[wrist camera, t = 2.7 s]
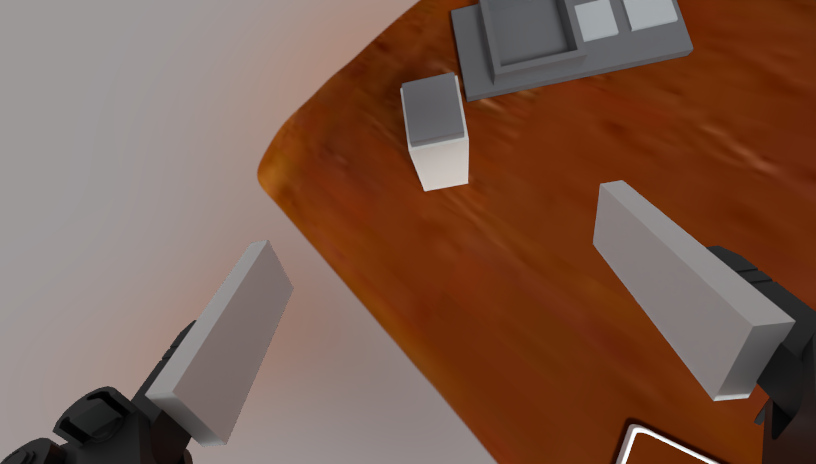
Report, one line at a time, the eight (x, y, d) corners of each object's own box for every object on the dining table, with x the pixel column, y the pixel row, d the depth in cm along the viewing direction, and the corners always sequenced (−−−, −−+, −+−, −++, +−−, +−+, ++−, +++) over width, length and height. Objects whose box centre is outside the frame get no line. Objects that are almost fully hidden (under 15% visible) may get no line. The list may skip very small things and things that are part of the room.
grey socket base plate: (656, -34, 39) (672, -60, 36) (687, 55, 36) (706, 34, 34) (451, 17, 42) (450, -4, 39) (466, 101, 40) (466, 86, 37)
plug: (459, 135, 39) (456, 68, 28) (467, 183, 38) (468, 134, 26) (417, 143, 40) (397, 81, 28) (424, 191, 39) (406, 146, 27)
